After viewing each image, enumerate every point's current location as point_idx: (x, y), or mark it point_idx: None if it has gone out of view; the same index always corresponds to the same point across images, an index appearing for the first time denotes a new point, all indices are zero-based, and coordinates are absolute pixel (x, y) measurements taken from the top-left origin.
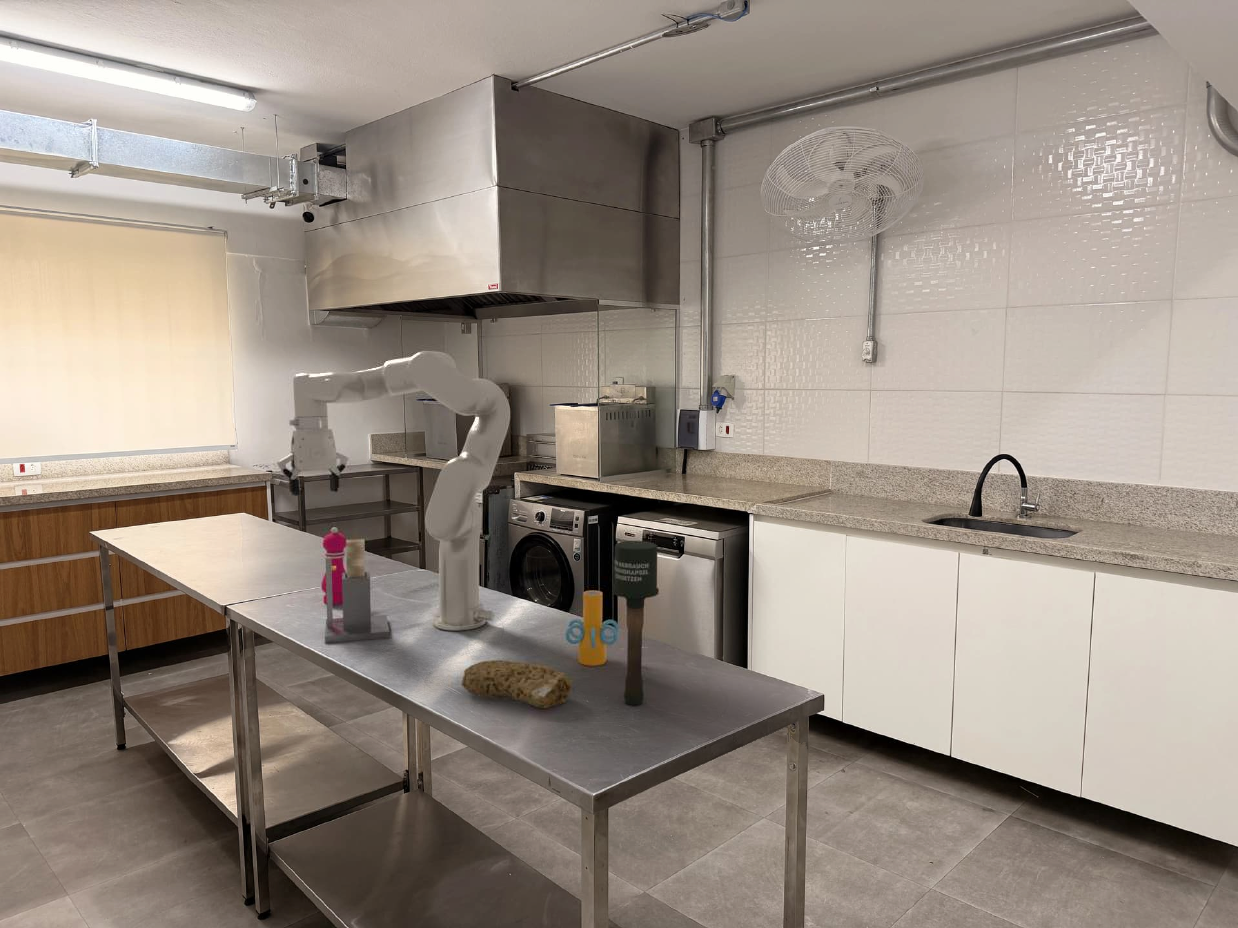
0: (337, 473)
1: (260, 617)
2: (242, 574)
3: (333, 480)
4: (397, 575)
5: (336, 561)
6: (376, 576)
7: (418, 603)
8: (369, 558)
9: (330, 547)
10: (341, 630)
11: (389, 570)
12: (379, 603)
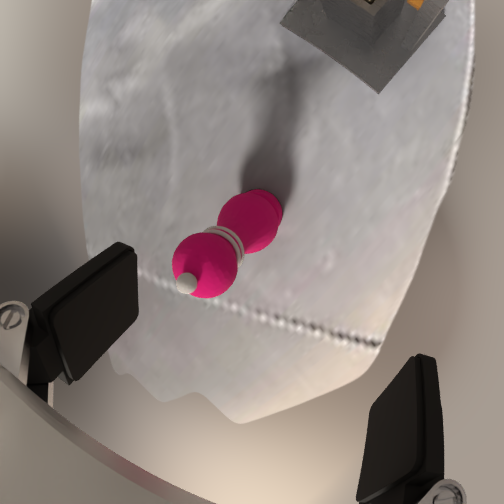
0: (14, 319)
1: (411, 246)
2: (254, 418)
3: (81, 313)
4: None
5: (232, 229)
6: None
7: (175, 78)
8: None
9: (231, 250)
10: (404, 14)
11: None
12: (217, 131)
